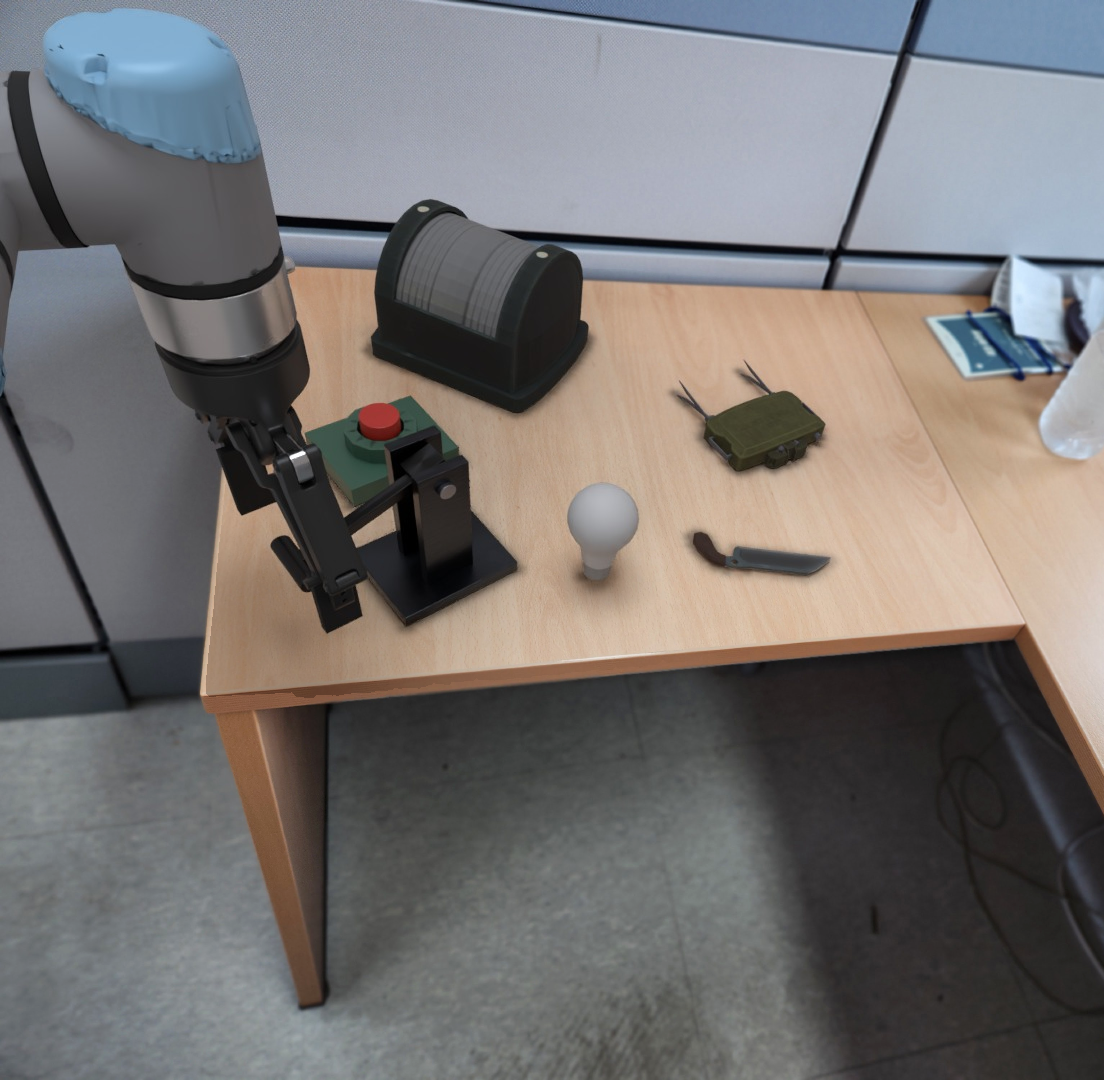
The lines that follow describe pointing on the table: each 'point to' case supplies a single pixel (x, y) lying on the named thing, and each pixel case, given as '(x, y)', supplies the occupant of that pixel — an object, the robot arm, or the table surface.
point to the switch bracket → (432, 537)
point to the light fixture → (477, 307)
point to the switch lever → (360, 512)
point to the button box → (368, 450)
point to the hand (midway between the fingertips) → (298, 561)
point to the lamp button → (379, 422)
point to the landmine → (761, 428)
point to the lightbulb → (602, 526)
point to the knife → (759, 558)
